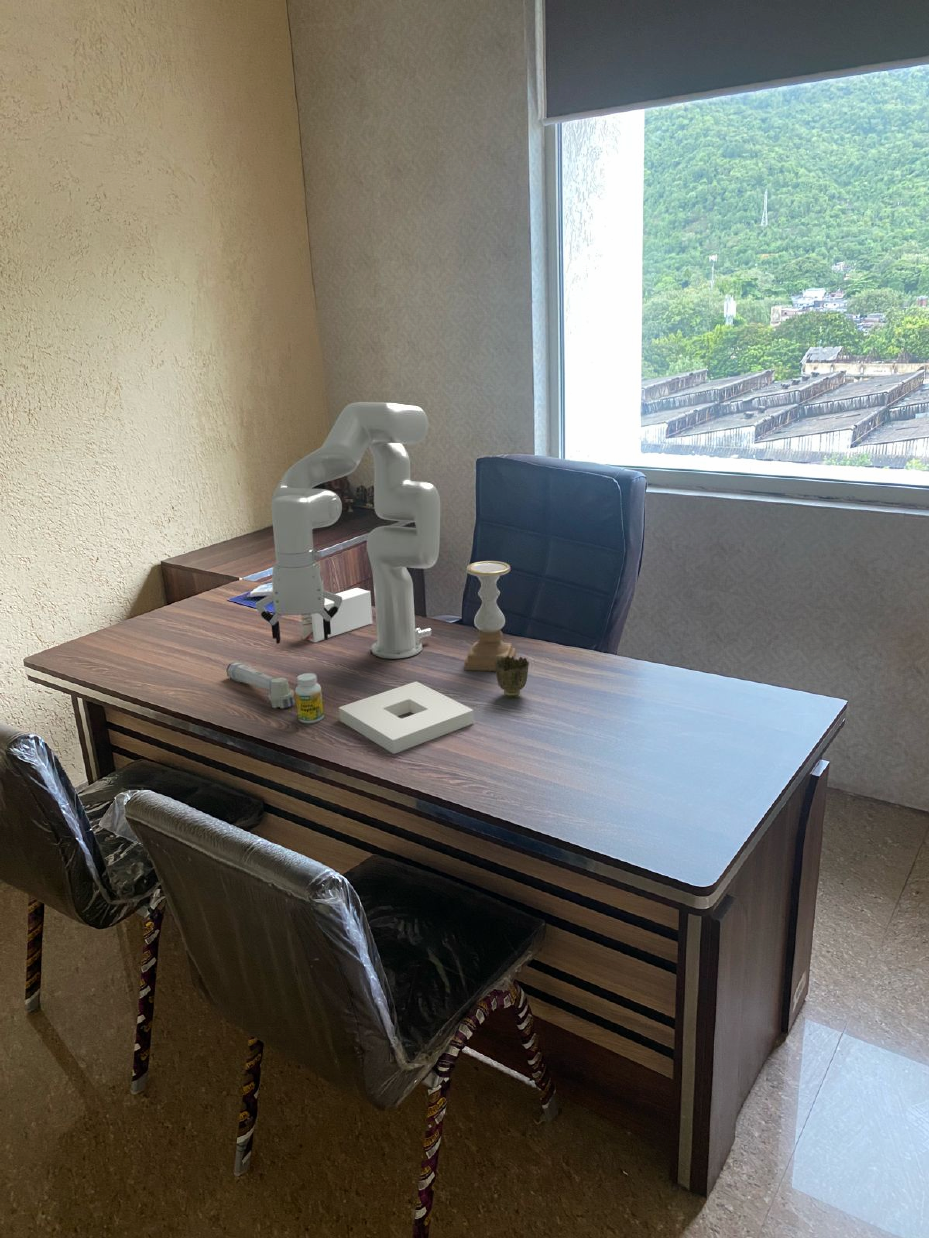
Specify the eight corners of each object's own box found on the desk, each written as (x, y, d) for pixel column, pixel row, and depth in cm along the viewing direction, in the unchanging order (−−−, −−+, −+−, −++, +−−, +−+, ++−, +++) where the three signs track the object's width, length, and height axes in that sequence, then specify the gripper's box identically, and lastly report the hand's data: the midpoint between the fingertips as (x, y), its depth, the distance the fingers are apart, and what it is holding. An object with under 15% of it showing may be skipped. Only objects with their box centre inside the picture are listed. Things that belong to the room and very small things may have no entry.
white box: (359, 619, 251) (357, 587, 248) (372, 624, 248) (370, 591, 244) (299, 639, 238) (296, 605, 235) (312, 644, 234) (309, 610, 231)
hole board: (416, 693, 203) (416, 681, 202) (473, 723, 188) (473, 709, 187) (339, 720, 191) (338, 707, 190) (393, 753, 177) (392, 740, 176)
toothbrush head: (242, 658, 216) (295, 674, 197) (247, 685, 218) (300, 703, 199) (222, 664, 213) (274, 681, 194) (227, 691, 215) (279, 710, 196)
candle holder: (472, 652, 225) (469, 559, 217) (516, 654, 223) (515, 560, 215) (463, 669, 215) (460, 572, 207) (510, 672, 213) (508, 574, 205)
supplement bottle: (322, 711, 196) (319, 670, 193) (324, 722, 191) (321, 680, 188) (297, 714, 195) (293, 673, 192) (298, 725, 190) (294, 683, 187)
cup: (534, 691, 202) (533, 657, 200) (521, 704, 196) (521, 670, 193) (503, 686, 205) (502, 653, 203) (490, 699, 199) (489, 665, 196)
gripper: (338, 551, 186) (344, 630, 191) (252, 556, 183) (260, 636, 189) (339, 560, 179) (345, 642, 184) (249, 566, 176) (258, 649, 182)
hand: (302, 639), depth 187 cm, fingers open, 9 cm apart
